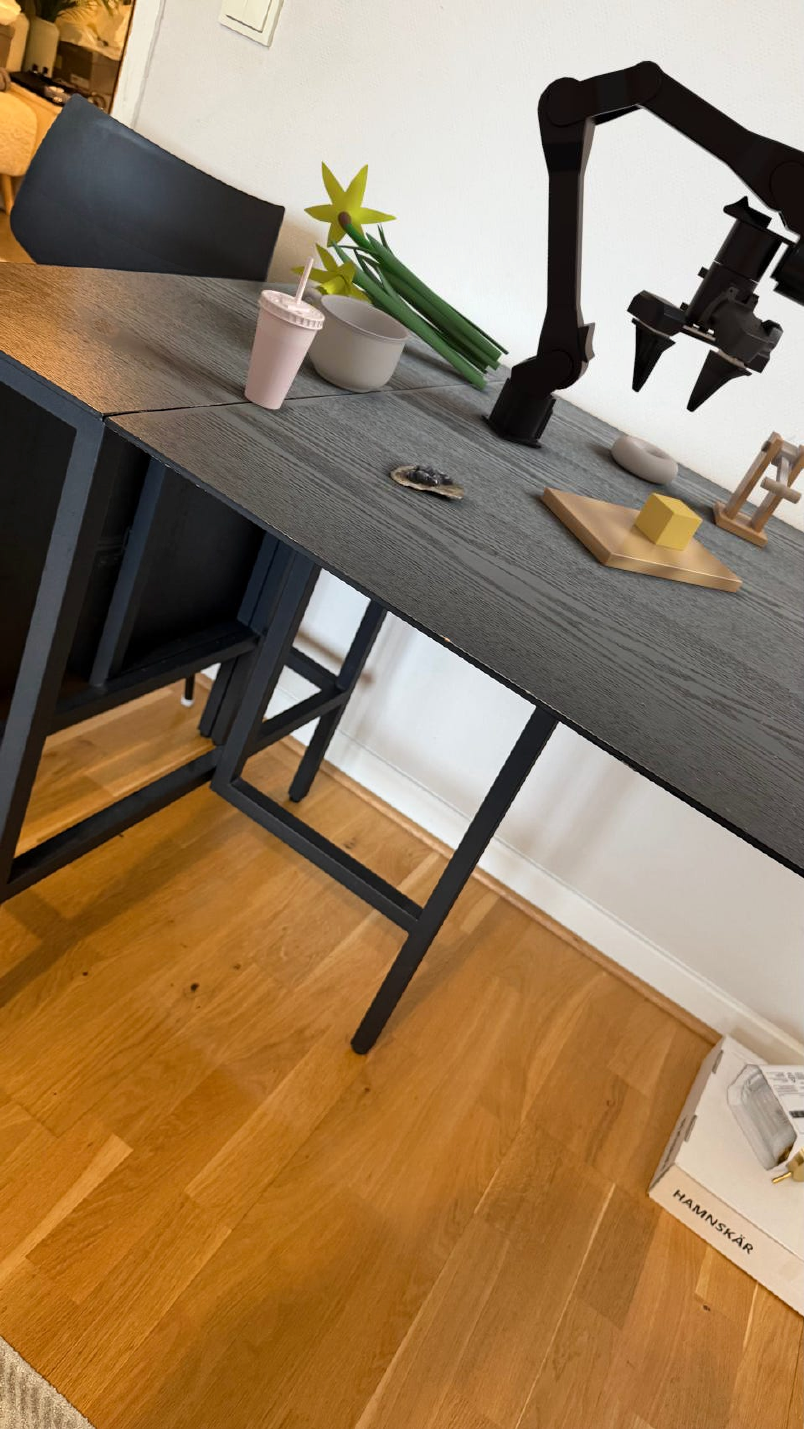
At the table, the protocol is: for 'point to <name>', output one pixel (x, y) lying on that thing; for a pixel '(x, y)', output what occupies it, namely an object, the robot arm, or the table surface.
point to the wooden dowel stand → (729, 513)
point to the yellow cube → (667, 522)
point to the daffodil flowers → (393, 282)
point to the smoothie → (280, 343)
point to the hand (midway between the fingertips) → (662, 401)
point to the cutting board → (635, 543)
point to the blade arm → (782, 473)
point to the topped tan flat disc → (428, 480)
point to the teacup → (355, 342)
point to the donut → (644, 460)
